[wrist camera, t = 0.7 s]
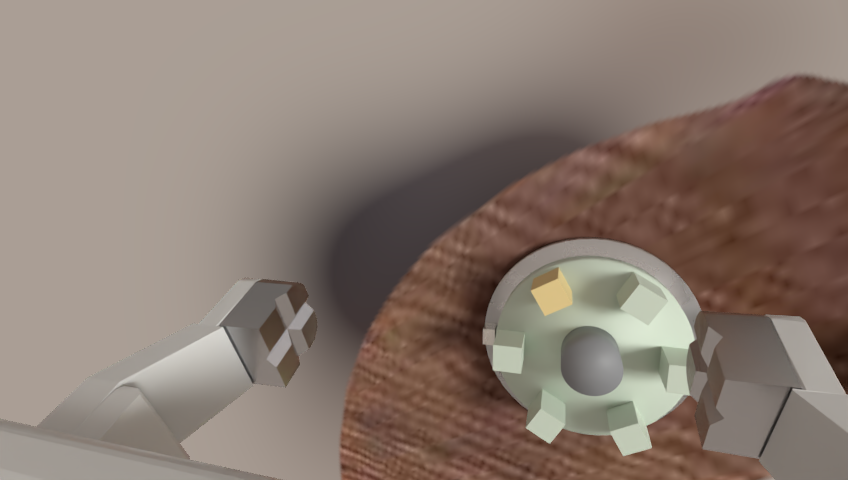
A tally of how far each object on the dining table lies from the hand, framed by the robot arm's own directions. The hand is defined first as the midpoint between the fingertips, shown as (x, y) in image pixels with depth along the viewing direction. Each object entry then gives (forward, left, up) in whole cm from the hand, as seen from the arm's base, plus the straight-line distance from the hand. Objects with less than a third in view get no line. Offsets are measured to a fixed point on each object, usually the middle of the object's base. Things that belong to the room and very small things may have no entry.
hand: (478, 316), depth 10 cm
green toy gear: (-20, +6, -43) cm, 48 cm away
